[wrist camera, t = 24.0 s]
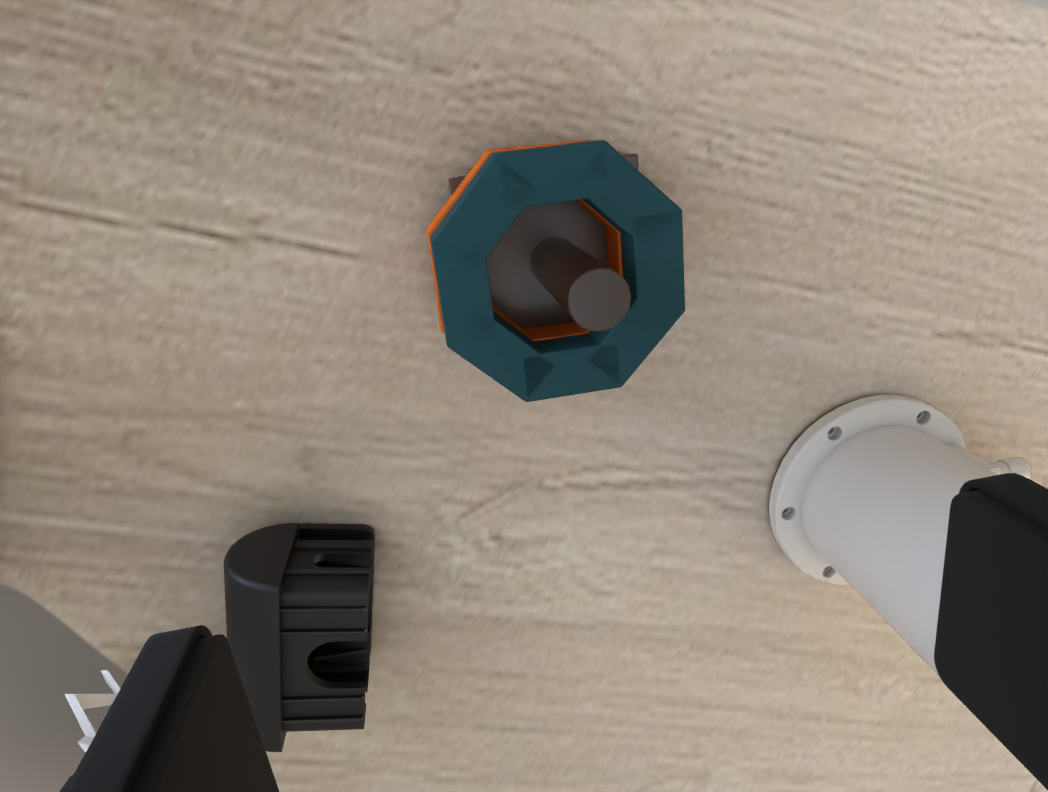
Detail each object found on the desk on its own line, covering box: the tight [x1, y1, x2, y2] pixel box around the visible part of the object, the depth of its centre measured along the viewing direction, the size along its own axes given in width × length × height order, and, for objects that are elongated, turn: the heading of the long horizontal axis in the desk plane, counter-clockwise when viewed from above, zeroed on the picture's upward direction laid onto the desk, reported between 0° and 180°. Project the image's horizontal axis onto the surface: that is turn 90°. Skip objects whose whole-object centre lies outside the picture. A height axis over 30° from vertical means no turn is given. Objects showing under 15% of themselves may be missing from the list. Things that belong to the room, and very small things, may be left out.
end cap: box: [224, 523, 375, 752], centre depth 37 cm, size 10×7×7 cm
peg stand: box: [449, 154, 638, 331], centre depth 31 cm, size 9×9×10 cm
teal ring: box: [430, 140, 685, 402], centre depth 31 cm, size 11×11×2 cm
